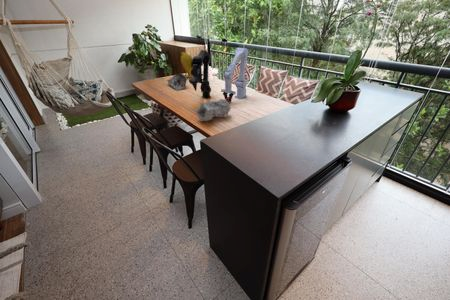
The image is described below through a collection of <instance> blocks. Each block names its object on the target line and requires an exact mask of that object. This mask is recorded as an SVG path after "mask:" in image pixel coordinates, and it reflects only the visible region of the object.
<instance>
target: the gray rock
mask: <svg viewBox="0 0 450 300" xmlns="http://www.w3.org/2000/svg"><path fill="white" fill-rule="evenodd" d="M187 81H188V78H187V77H186V76H185V74H183V73H181V72H179V73H178V72H177V73H176V74H173V76H172V77H171V78H169V79H167V80H166V82H167V84H168V85H169V86H170V87H172V89H174V90H176V91H178V90H179V91H181V90H183V89H184V88H186V87H187V85H186V84H187Z"/></svg>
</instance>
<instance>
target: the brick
mask: <svg viewBox="0 0 450 300" xmlns="http://www.w3.org/2000/svg"><path fill="white" fill-rule="evenodd" d="M224 100H226V101H227V102H228V103H229V104H230V103H232V100H231V101H229V96H227V97H226V98H225V97H224Z"/></svg>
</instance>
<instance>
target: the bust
mask: <svg viewBox="0 0 450 300" xmlns="http://www.w3.org/2000/svg"><path fill="white" fill-rule="evenodd" d="M231 108H232V107H231V104H230V103H228V102H227V101H226V100H225V99H223V98H221V99H219V100H211V101H206V102H204V101H202V102H201V103H200V104H199V106H198V107H197V109H196V110H195V113H196V115H197V118H198V120H199V122H200V123H202V122H209V121H212V119H213V117H214V118H227V116H229V113H230V112H231Z"/></svg>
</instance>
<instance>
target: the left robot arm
mask: <svg viewBox="0 0 450 300" xmlns="http://www.w3.org/2000/svg"><path fill="white" fill-rule="evenodd" d="M199 51H200V52H198V54H197V55H195V56H193V57H192V67H193V69H192V70H191V74H192V76H194V77H190V78H189V79H188V83H189V84H190V85H192V87H193V89H194V91H196V92H197V90H198V89H197V87H198V84H200V92H201V93H202V99H205V100H207V99H210V98H212V97H211V92H212V87H211V86H210V81H209V65H210V63H211V60H212V55H211V53H210V52H208V51H207V50H206V49H201V50H199ZM202 66H203V67H202ZM202 68H203V69H202Z"/></svg>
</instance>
